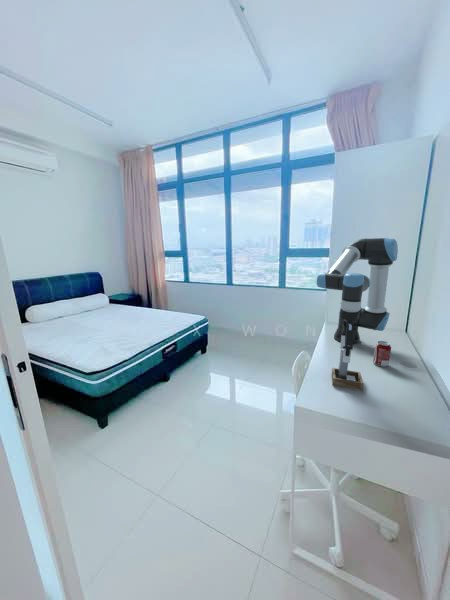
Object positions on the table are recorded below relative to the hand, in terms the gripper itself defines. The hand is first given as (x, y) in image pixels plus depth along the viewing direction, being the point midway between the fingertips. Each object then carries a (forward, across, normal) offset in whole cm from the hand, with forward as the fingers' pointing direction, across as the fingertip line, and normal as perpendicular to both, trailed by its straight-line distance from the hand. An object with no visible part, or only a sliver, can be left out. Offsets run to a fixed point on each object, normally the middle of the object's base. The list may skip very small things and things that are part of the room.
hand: (344, 355), depth 110 cm
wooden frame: (+13, 0, +2) cm, 13 cm away
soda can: (+14, -24, +20) cm, 34 cm away
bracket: (+13, 0, +2) cm, 13 cm away
